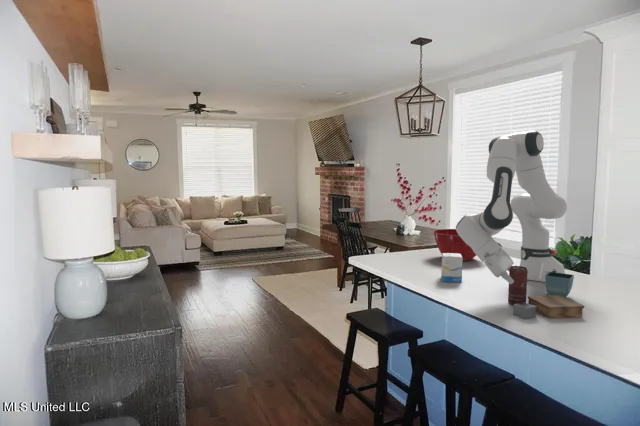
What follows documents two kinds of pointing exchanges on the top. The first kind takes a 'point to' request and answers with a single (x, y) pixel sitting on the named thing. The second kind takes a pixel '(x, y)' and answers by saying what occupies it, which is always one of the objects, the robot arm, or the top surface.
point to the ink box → (451, 267)
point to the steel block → (524, 310)
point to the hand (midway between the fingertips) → (515, 280)
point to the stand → (556, 306)
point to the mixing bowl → (453, 243)
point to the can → (517, 285)
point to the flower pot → (558, 283)
